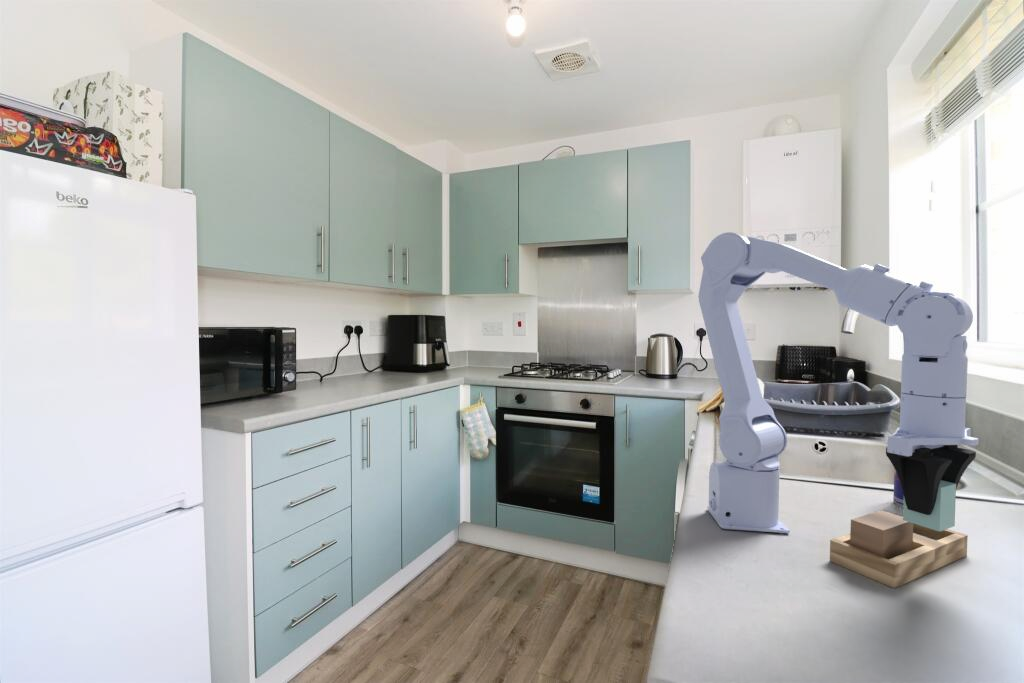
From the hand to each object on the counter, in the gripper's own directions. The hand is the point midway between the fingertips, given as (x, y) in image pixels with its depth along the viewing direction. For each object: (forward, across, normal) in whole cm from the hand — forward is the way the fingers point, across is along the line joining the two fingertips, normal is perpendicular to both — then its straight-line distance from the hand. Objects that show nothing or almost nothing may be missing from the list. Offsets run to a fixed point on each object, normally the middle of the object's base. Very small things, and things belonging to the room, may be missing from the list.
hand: (928, 509), depth 55 cm
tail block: (+2, 0, 0) cm, 2 cm away
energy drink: (+9, +27, +13) cm, 31 cm away
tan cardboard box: (+7, -1, +4) cm, 8 cm away
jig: (+8, +3, +4) cm, 10 cm away
